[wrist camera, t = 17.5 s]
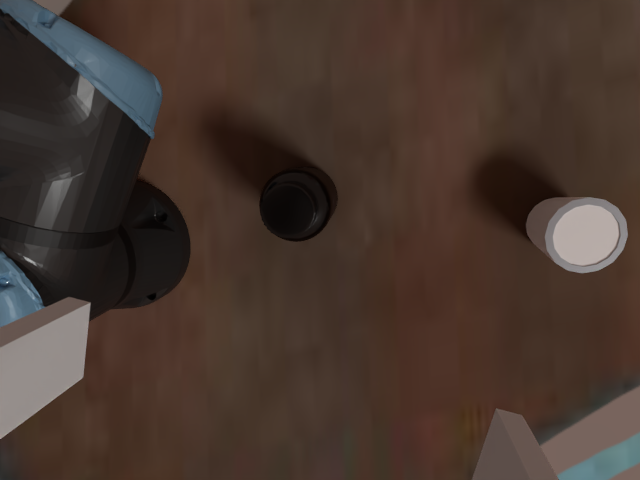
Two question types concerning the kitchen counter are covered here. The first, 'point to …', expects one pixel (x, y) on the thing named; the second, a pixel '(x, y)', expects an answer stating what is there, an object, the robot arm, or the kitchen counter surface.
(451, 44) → the kitchen counter surface
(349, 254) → the kitchen counter surface
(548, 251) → the white cylinder
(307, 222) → the supplement bottle
